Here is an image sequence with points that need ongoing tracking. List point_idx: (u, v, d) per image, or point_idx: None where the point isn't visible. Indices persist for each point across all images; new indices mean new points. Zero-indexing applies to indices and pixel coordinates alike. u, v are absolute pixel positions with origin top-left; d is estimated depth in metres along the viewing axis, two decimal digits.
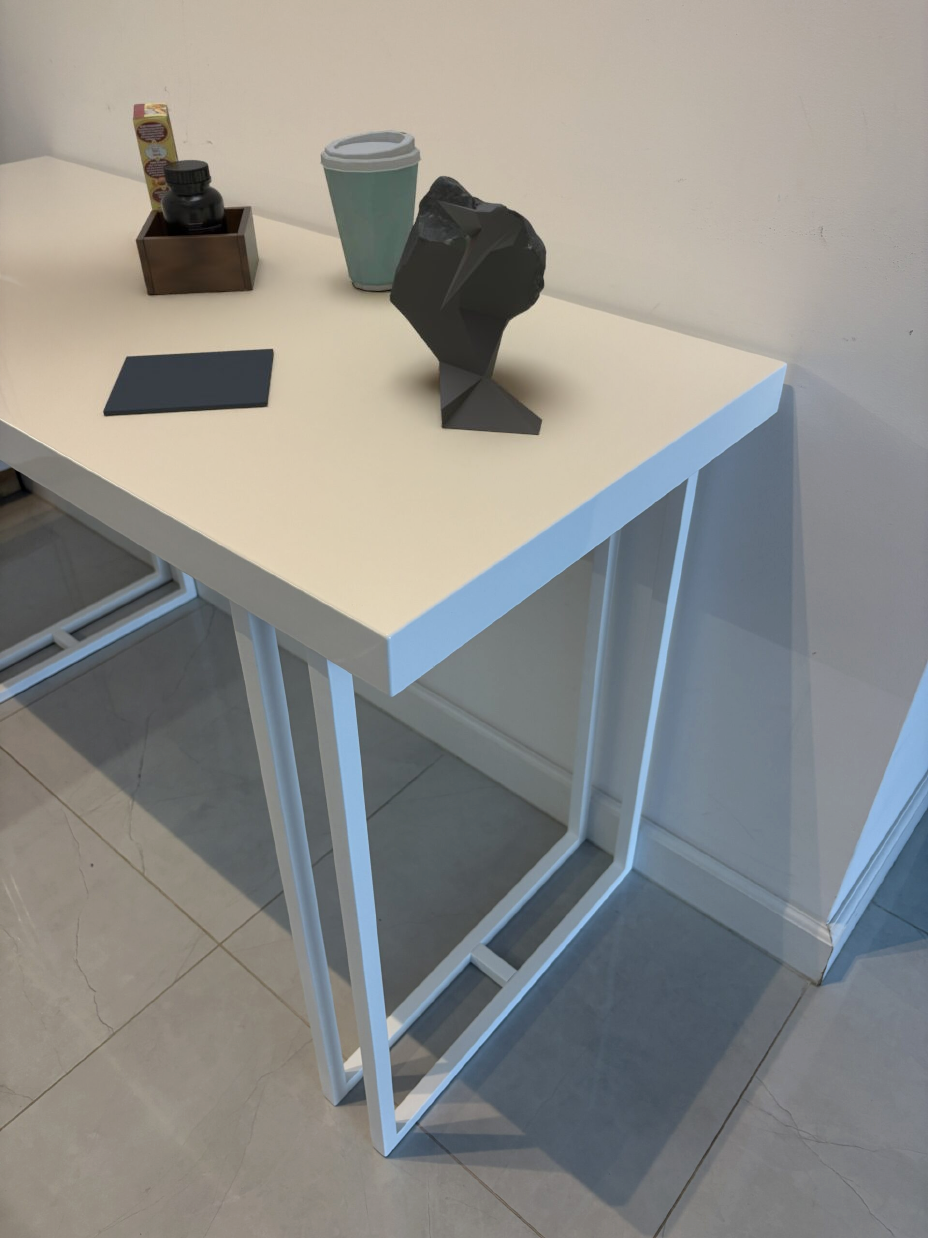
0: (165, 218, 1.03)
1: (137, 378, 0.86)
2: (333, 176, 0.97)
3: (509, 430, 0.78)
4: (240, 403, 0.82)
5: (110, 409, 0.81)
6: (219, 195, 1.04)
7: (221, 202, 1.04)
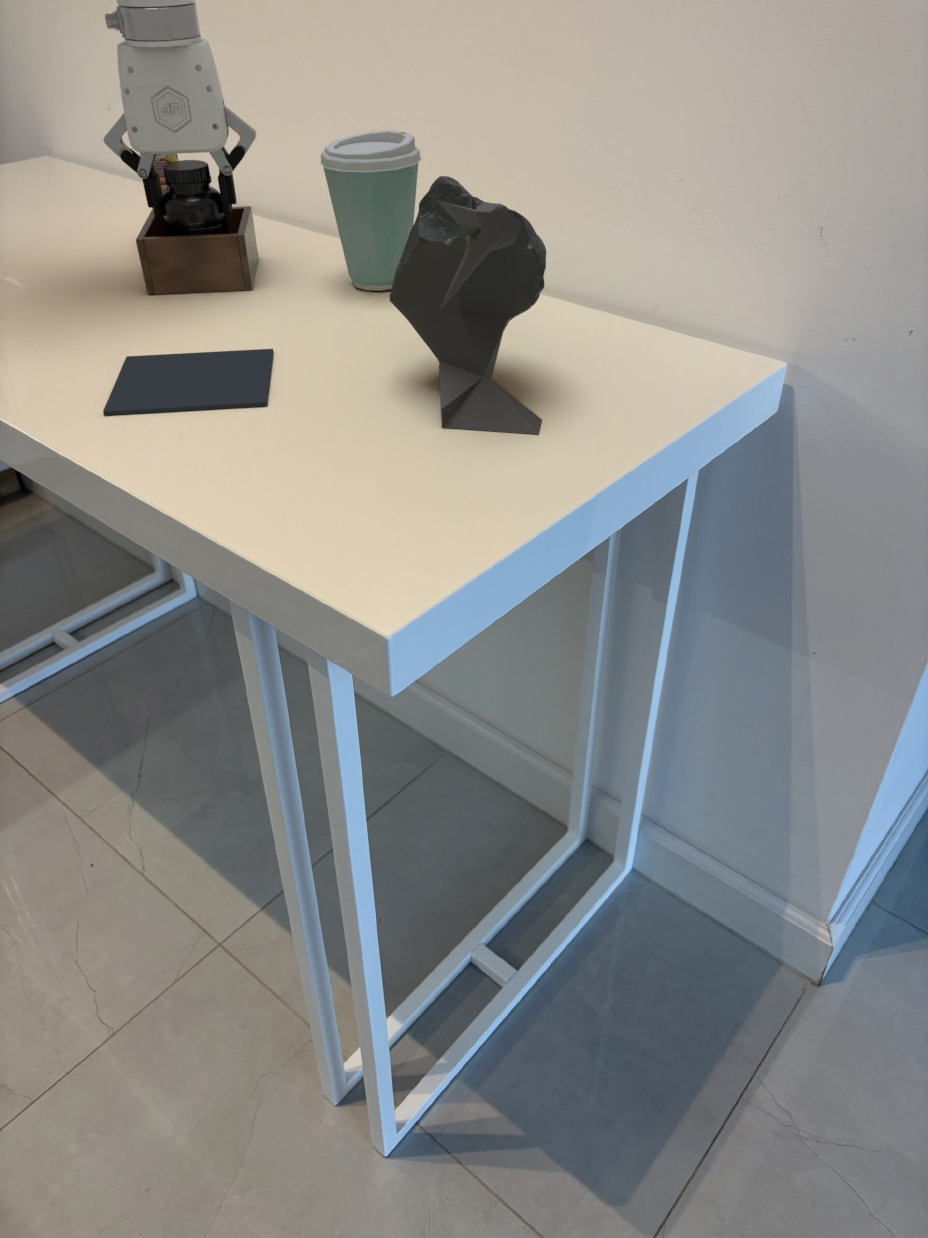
0: (165, 218, 1.03)
1: (137, 378, 0.86)
2: (333, 176, 0.97)
3: (509, 430, 0.78)
4: (240, 403, 0.82)
5: (110, 409, 0.81)
6: (219, 195, 1.04)
7: (221, 202, 1.04)
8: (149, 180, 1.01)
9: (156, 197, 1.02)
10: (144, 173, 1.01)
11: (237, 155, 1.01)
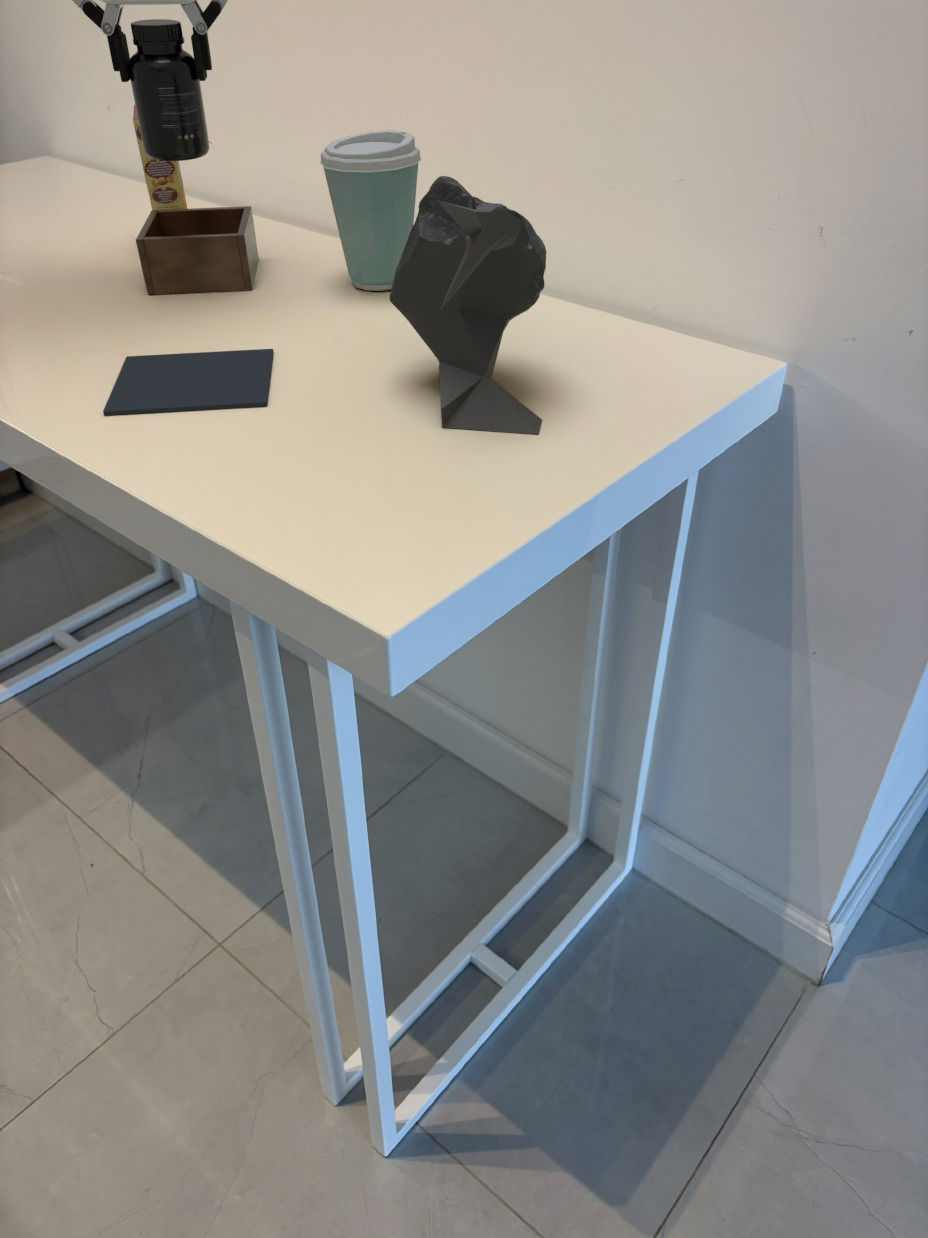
0: (133, 83, 0.94)
1: (137, 378, 0.86)
2: (333, 176, 0.97)
3: (509, 430, 0.78)
4: (240, 403, 0.82)
5: (110, 409, 0.81)
6: (193, 59, 0.94)
7: None
8: (114, 37, 0.91)
9: (122, 58, 0.92)
10: (109, 29, 0.91)
11: (212, 11, 0.91)
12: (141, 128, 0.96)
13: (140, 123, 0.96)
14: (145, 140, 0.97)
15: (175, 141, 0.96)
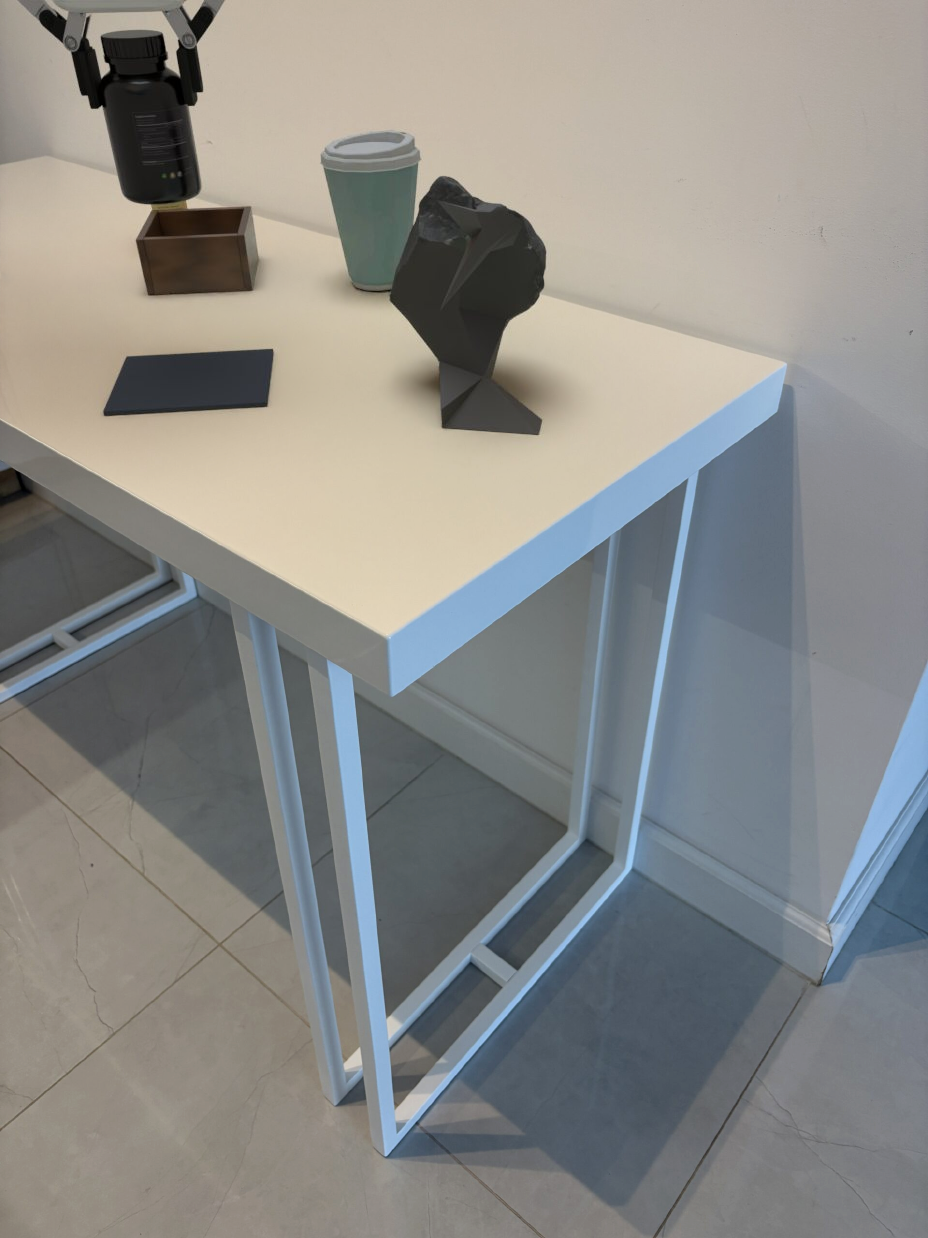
0: (104, 110, 0.75)
1: (137, 378, 0.86)
2: (333, 176, 0.97)
3: (509, 430, 0.78)
4: (240, 403, 0.82)
5: (110, 409, 0.81)
6: (179, 79, 0.76)
7: None
8: (80, 53, 0.73)
9: (91, 79, 0.74)
10: (73, 43, 0.72)
11: (203, 19, 0.73)
12: (117, 165, 0.78)
13: (115, 159, 0.78)
14: (122, 180, 0.78)
15: (159, 181, 0.77)
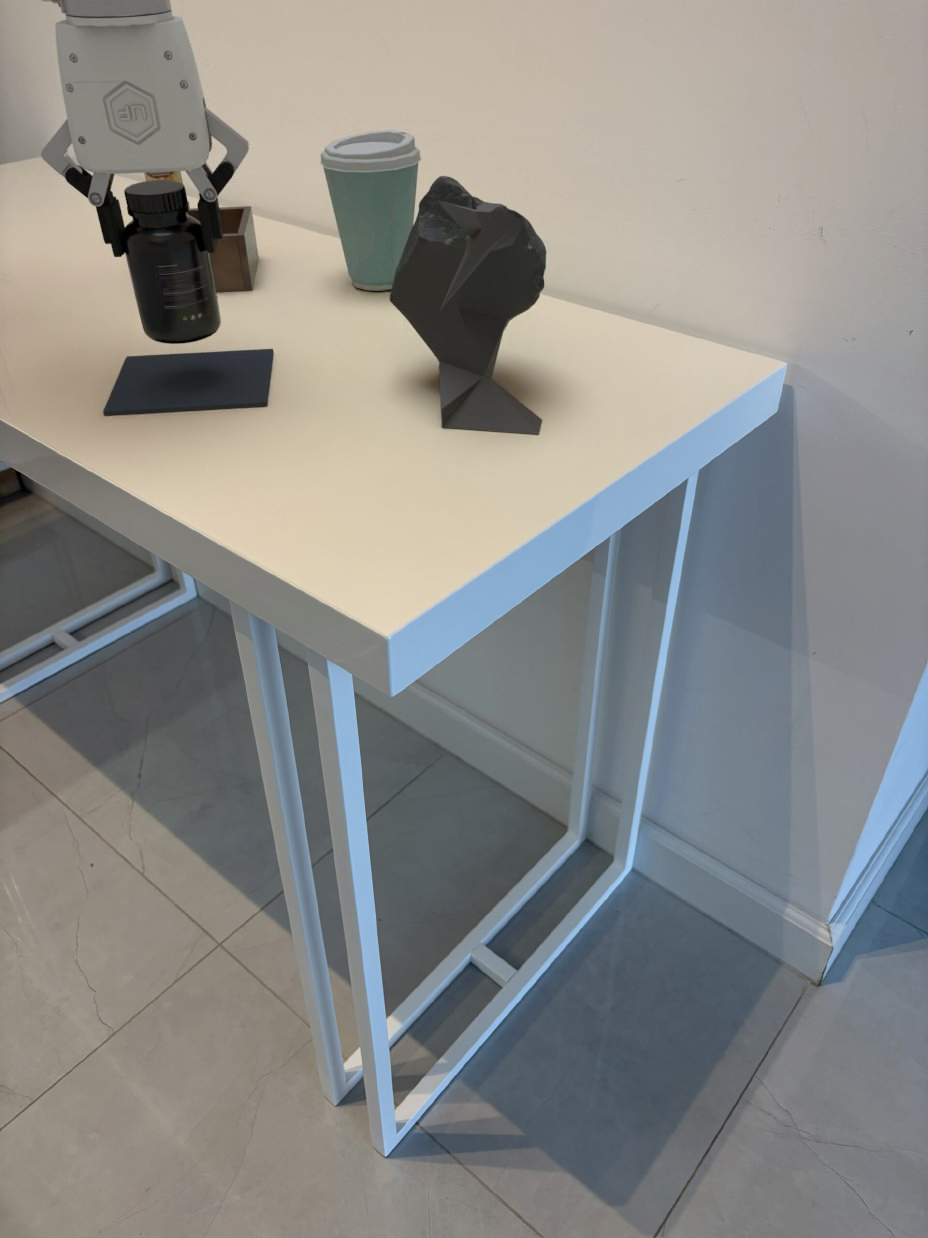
0: (127, 258, 0.77)
1: (137, 378, 0.86)
2: (333, 176, 0.97)
3: (509, 430, 0.78)
4: (240, 403, 0.82)
5: (110, 409, 0.81)
6: (200, 227, 0.78)
7: None
8: (104, 208, 0.75)
9: (115, 231, 0.76)
10: (98, 199, 0.75)
11: (223, 175, 0.75)
12: (139, 307, 0.80)
13: (137, 301, 0.80)
14: (144, 321, 0.80)
15: (180, 323, 0.79)
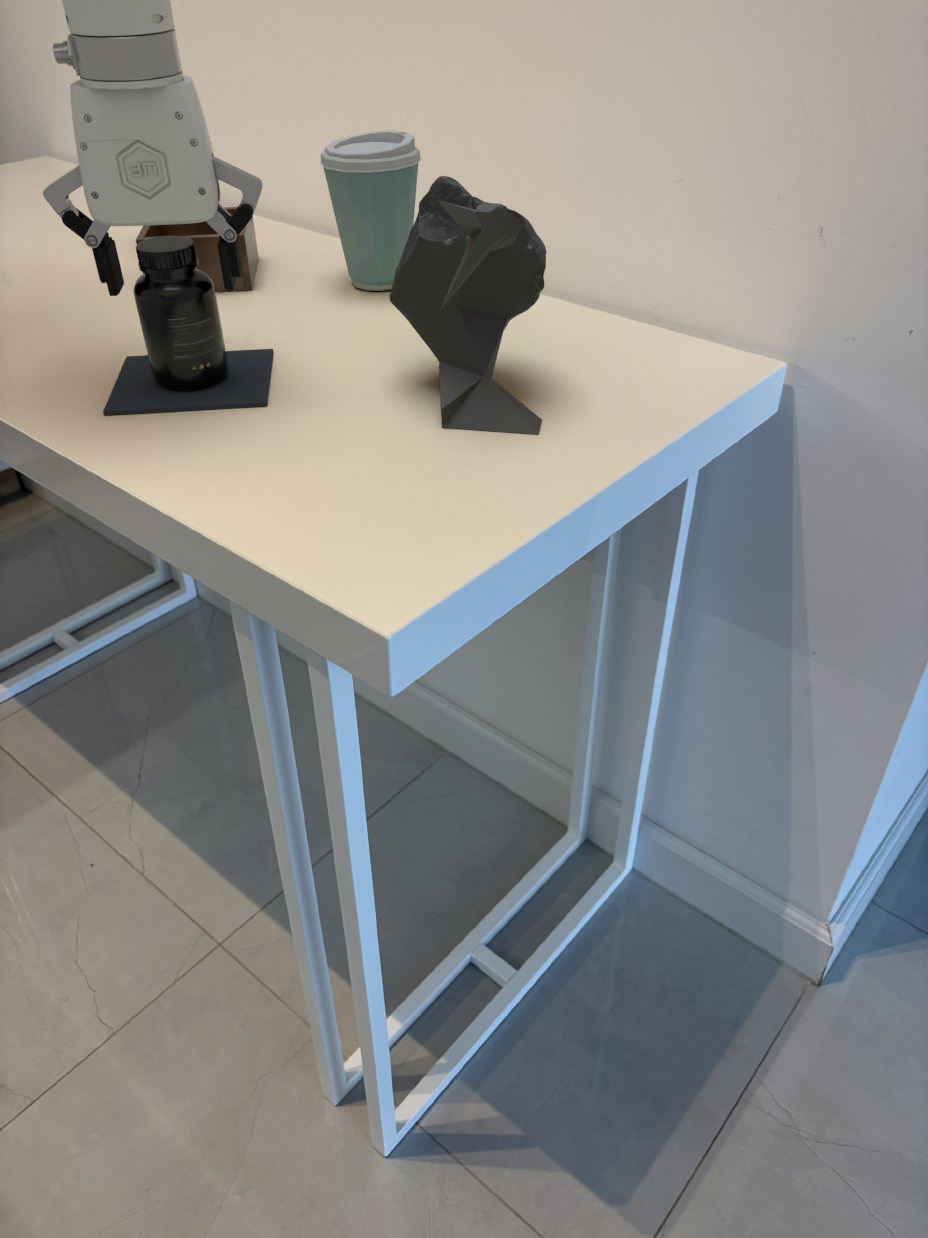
0: (139, 311, 0.80)
1: (137, 378, 0.86)
2: (333, 176, 0.97)
3: (509, 430, 0.78)
4: (240, 403, 0.82)
5: (110, 409, 0.81)
6: (209, 281, 0.80)
7: (211, 290, 0.80)
8: (100, 250, 0.77)
9: (110, 271, 0.78)
10: (94, 241, 0.77)
11: (243, 216, 0.77)
12: (149, 356, 0.83)
13: (148, 351, 0.82)
14: (154, 369, 0.83)
15: (189, 372, 0.82)
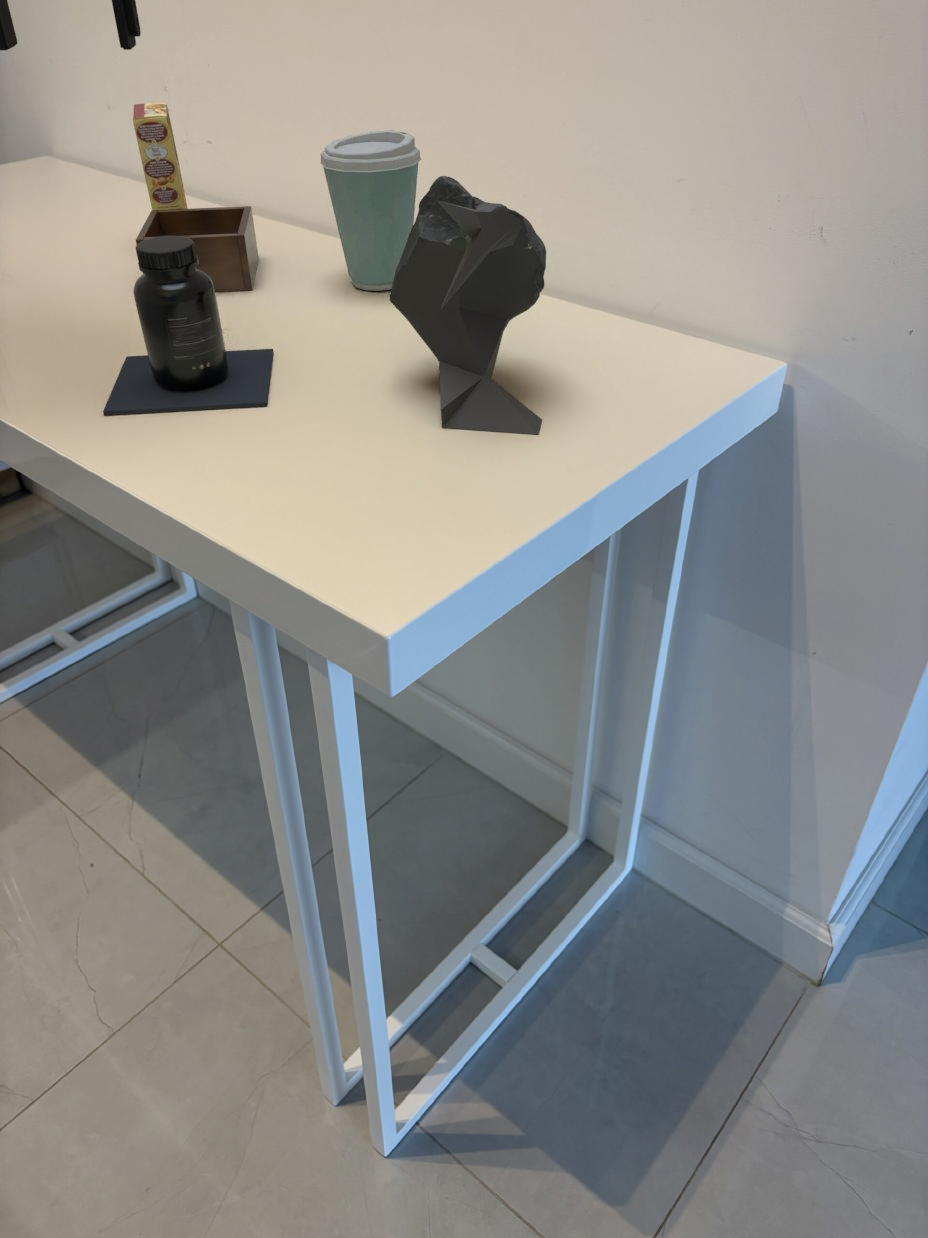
0: (139, 311, 0.80)
1: (137, 378, 0.86)
2: (333, 176, 0.97)
3: (509, 430, 0.78)
4: (240, 403, 0.82)
5: (110, 409, 0.81)
6: (208, 281, 0.80)
7: (211, 290, 0.80)
8: None
9: None
10: None
11: None
12: (149, 356, 0.83)
13: (148, 351, 0.82)
14: (154, 369, 0.83)
15: (189, 372, 0.82)
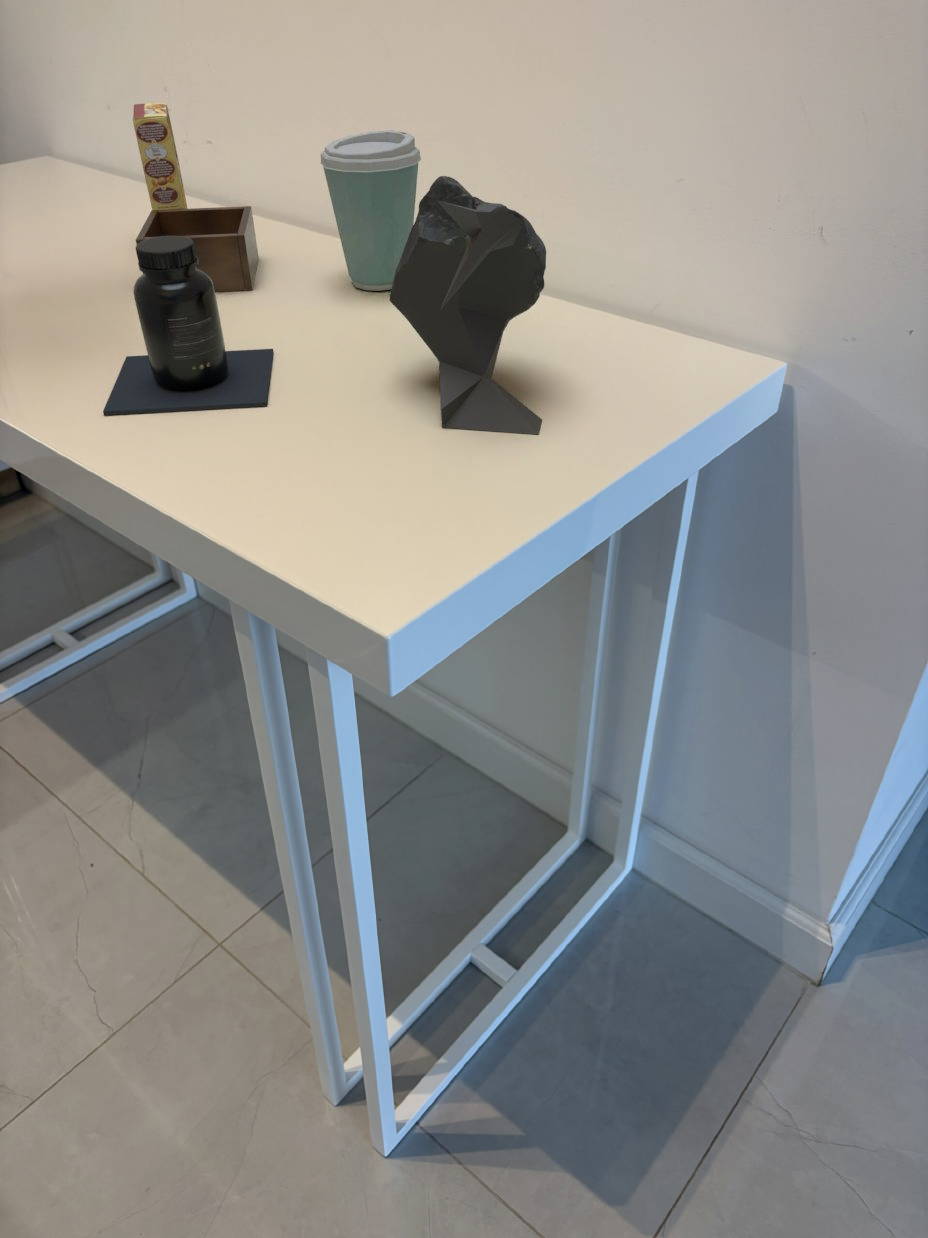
0: (139, 311, 0.80)
1: (137, 378, 0.86)
2: (333, 176, 0.97)
3: (509, 430, 0.78)
4: (240, 403, 0.82)
5: (110, 409, 0.81)
6: (208, 281, 0.80)
7: (211, 290, 0.80)
8: None
9: None
10: None
11: None
12: (149, 356, 0.83)
13: (148, 351, 0.82)
14: (154, 369, 0.83)
15: (189, 372, 0.82)
